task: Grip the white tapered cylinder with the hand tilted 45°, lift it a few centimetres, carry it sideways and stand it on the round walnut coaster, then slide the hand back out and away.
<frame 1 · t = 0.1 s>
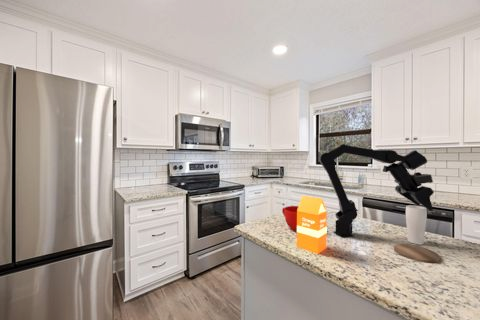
hand: (424, 207, 86), 15 cm above the counter, tool tilted 35°, fingers open, 9 cm apart
walnut coaster: (415, 253, 76), on the counter
orange juice: (311, 247, 81), on the counter
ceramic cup: (294, 228, 104), on the counter
white tapered cylinder: (415, 242, 87), on the counter
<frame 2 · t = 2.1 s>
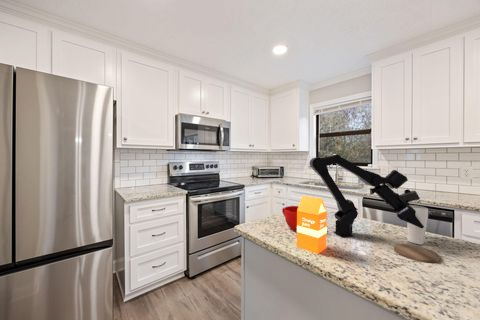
hand: (420, 224, 86), 8 cm above the counter, tool tilted 45°, fingers open, 8 cm apart
white tapered cylinder: (415, 242, 87), on the counter, touching gripper
everything else where it was.
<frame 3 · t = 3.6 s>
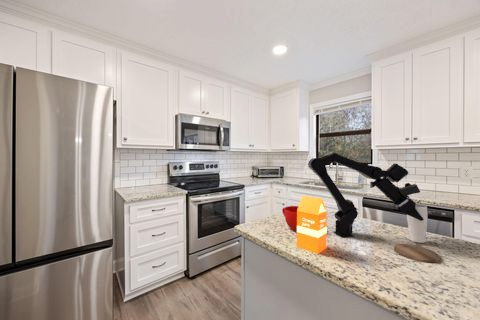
hand: (420, 218, 86), 11 cm above the counter, tool tilted 45°, fingers closed on white tapered cylinder, 7 cm apart
white tapered cylinder: (417, 241, 87), point 1 cm above the counter, touching gripper
everything else where it was.
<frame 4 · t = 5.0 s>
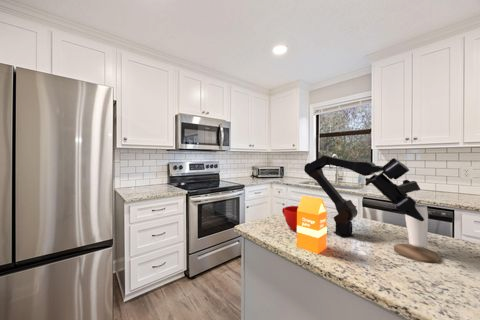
hand: (420, 218, 78), 13 cm above the counter, tool tilted 45°, fingers closed on white tapered cylinder, 7 cm apart
white tapered cylinder: (418, 246, 78), point 2 cm above the counter, touching gripper
everything else where it was.
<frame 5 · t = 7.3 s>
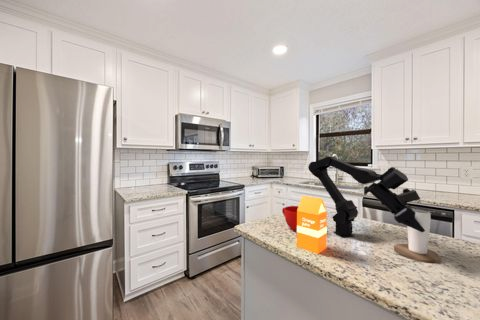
hand: (421, 228, 75), 10 cm above the counter, tool tilted 45°, fingers closed on white tapered cylinder, 6 cm apart
white tapered cylinder: (417, 252, 76), point 1 cm above the counter, touching gripper, walnut coaster
everything else where it was.
when the fingers open (10 cm above the counter, at t = 7.4 s): white tapered cylinder stays where it is, resting on walnut coaster.
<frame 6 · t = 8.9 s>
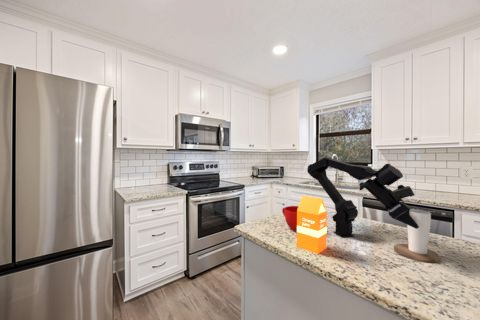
hand: (415, 224, 76), 11 cm above the counter, tool tilted 45°, fingers open, 9 cm apart
white tapered cylinder: (417, 252, 76), point 1 cm above the counter, touching walnut coaster
everything else where it was.
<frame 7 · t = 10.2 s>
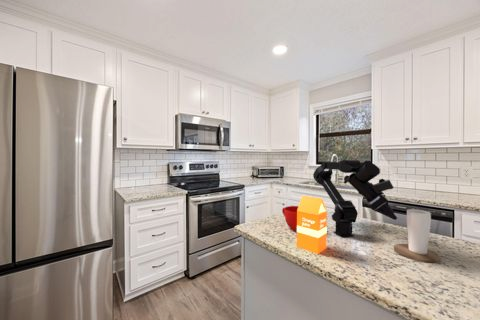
hand: (394, 216, 80), 13 cm above the counter, tool tilted 45°, fingers open, 9 cm apart
nothing on the counter moved.
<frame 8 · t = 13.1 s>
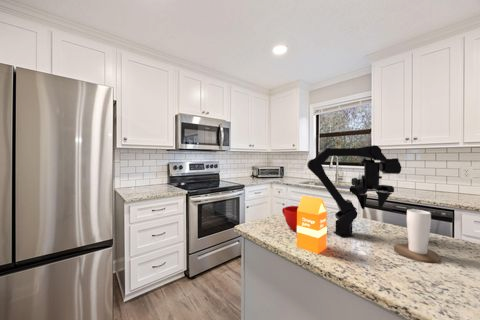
hand: (371, 208, 92), 13 cm above the counter, tool pointing down, fingers open, 9 cm apart
nothing on the counter moved.
at the end: white tapered cylinder inside the target area on the walnut coaster (0.6 cm from its centre), point 0.8 cm above the walnut coaster's base; white tapered cylinder tilted 0°; the gripper is holding nothing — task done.
